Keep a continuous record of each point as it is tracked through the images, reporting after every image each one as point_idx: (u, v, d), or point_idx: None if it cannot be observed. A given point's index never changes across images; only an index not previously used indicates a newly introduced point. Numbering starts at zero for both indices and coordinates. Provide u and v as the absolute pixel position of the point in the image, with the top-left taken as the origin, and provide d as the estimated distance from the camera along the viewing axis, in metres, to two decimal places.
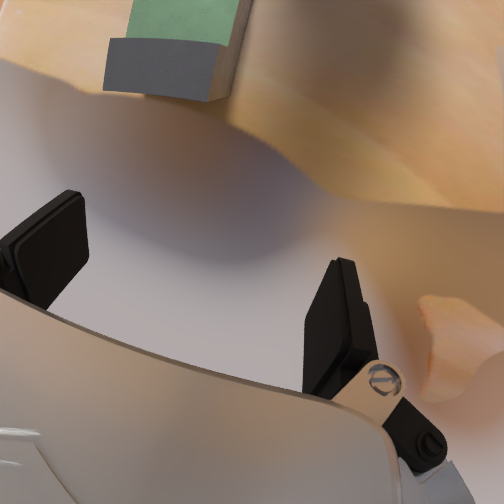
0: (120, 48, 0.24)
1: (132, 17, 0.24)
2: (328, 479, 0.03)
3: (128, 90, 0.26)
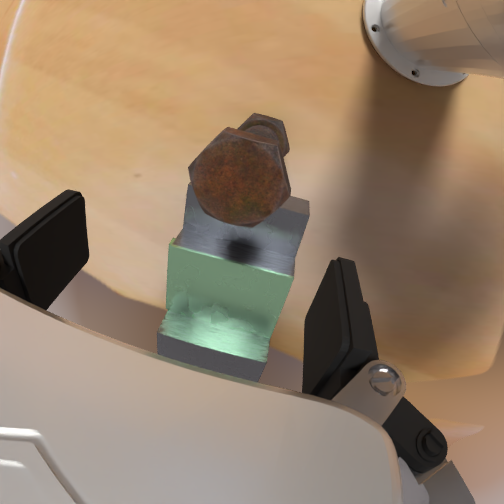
0: (170, 343, 0.32)
1: (169, 292, 0.32)
2: (328, 479, 0.03)
3: None
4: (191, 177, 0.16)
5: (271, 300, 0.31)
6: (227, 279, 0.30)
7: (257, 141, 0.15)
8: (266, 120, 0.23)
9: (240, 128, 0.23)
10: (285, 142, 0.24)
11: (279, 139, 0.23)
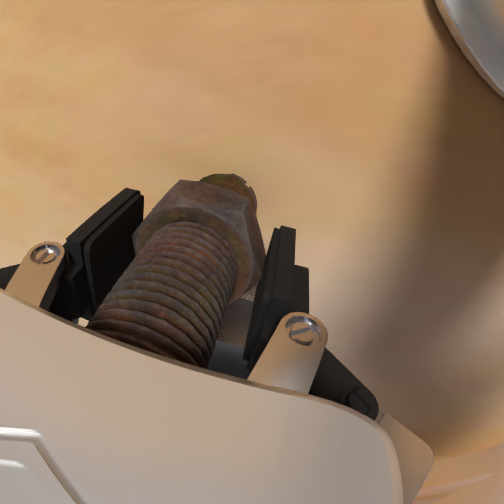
0: None
1: None
2: (328, 479, 0.03)
3: None
4: None
5: None
6: None
7: None
8: (201, 208, 0.09)
9: (144, 226, 0.10)
10: (252, 261, 0.10)
11: (237, 254, 0.10)
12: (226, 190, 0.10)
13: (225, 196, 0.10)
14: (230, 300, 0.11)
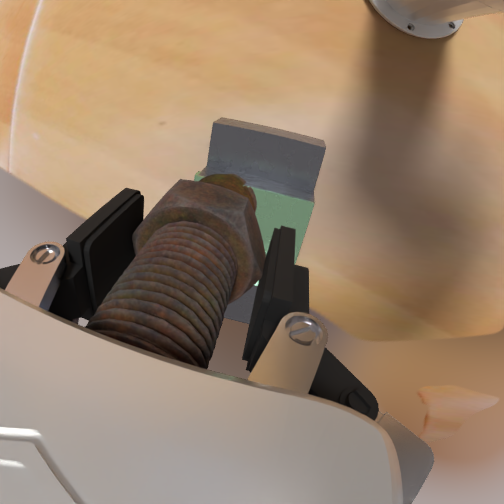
0: None
1: None
2: (328, 479, 0.03)
3: None
4: None
5: (293, 228, 0.32)
6: None
7: None
8: (201, 208, 0.09)
9: (144, 226, 0.10)
10: (252, 261, 0.10)
11: (237, 254, 0.10)
12: (226, 190, 0.10)
13: (225, 196, 0.10)
14: (230, 300, 0.11)
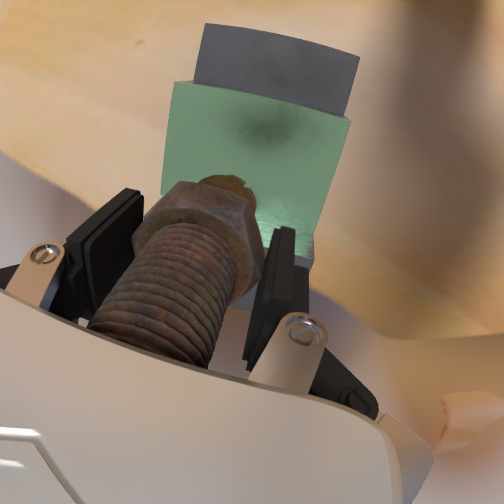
0: None
1: (168, 162, 0.22)
2: (328, 479, 0.03)
3: None
4: None
5: (318, 160, 0.20)
6: (255, 126, 0.19)
7: None
8: (201, 210, 0.09)
9: (143, 227, 0.10)
10: (252, 262, 0.10)
11: (237, 256, 0.10)
12: (226, 191, 0.10)
13: (225, 197, 0.10)
14: (230, 301, 0.11)
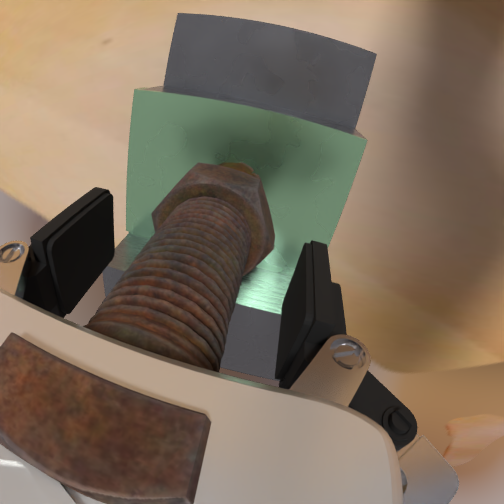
0: None
1: (131, 192, 0.17)
2: (328, 479, 0.03)
3: None
4: None
5: (322, 191, 0.15)
6: (238, 147, 0.15)
7: (85, 487, 0.02)
8: (220, 184, 0.10)
9: (165, 202, 0.11)
10: (265, 233, 0.11)
11: (251, 227, 0.11)
12: (240, 172, 0.12)
13: (239, 176, 0.11)
14: (243, 272, 0.12)
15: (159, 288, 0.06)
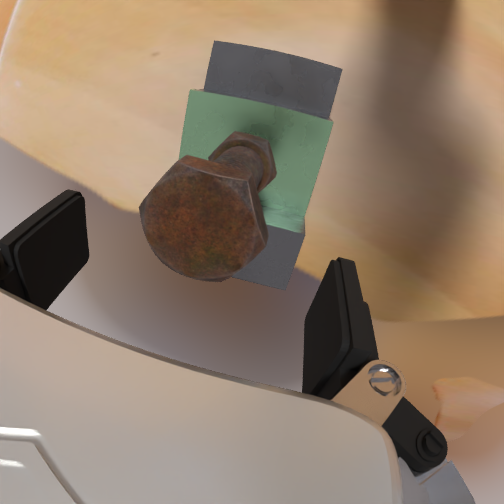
0: None
1: (183, 156, 0.26)
2: (328, 479, 0.03)
3: None
4: (142, 220, 0.13)
5: (307, 154, 0.25)
6: (256, 127, 0.24)
7: (220, 176, 0.11)
8: (248, 140, 0.20)
9: (217, 150, 0.20)
10: (271, 166, 0.20)
11: (263, 163, 0.20)
12: (257, 136, 0.21)
13: (257, 138, 0.20)
14: (258, 190, 0.21)
15: (227, 165, 0.15)
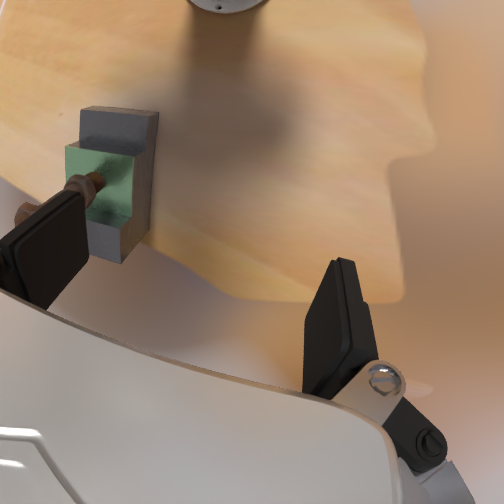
0: None
1: None
2: (328, 479, 0.03)
3: None
4: None
5: (123, 179, 0.38)
6: (96, 165, 0.38)
7: (29, 211, 0.25)
8: (75, 180, 0.33)
9: (65, 186, 0.34)
10: (87, 193, 0.34)
11: (83, 191, 0.34)
12: (84, 176, 0.34)
13: (83, 177, 0.34)
14: (85, 206, 0.35)
15: (50, 200, 0.29)
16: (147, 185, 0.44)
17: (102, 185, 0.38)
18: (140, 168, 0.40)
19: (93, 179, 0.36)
